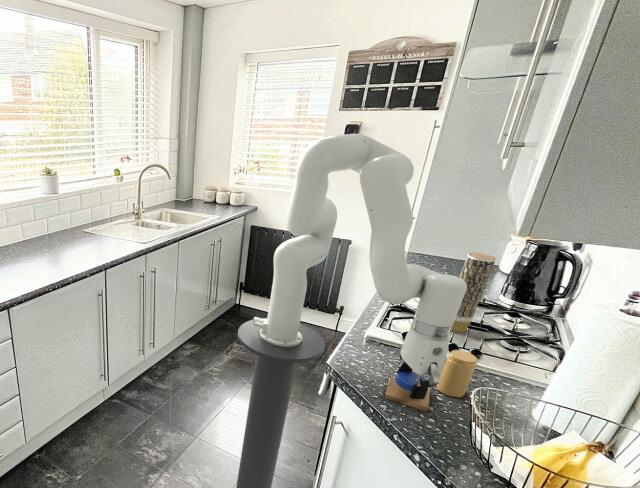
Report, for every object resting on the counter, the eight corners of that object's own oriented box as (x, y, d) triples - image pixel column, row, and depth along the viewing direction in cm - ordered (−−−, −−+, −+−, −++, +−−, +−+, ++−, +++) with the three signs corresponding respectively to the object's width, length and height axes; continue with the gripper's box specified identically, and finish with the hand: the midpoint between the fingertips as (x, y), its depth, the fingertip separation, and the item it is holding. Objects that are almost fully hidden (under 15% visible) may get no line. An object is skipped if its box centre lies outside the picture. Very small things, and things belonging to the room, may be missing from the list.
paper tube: (471, 330, 137) (500, 258, 126) (459, 335, 134) (488, 261, 124) (449, 322, 143) (475, 251, 132) (437, 326, 140) (463, 254, 129)
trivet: (384, 398, 106) (385, 394, 105) (388, 380, 112) (389, 377, 112) (427, 411, 101) (428, 407, 100) (428, 392, 108) (430, 389, 107)
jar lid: (420, 379, 107) (422, 374, 107) (430, 394, 102) (432, 389, 101) (392, 375, 109) (393, 369, 108) (399, 390, 103) (402, 384, 102)
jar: (435, 391, 108) (449, 357, 103) (436, 380, 112) (449, 347, 108) (464, 400, 105) (479, 365, 100) (464, 388, 109) (478, 354, 105)
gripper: (472, 346, 90) (445, 412, 98) (427, 310, 106) (406, 370, 113) (435, 345, 91) (411, 411, 98) (396, 309, 106) (377, 369, 114)
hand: (409, 388), depth 106 cm, fingers closed on jar lid, 6 cm apart
